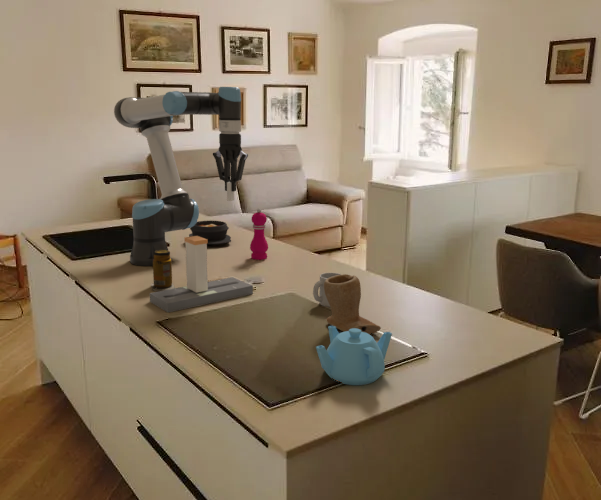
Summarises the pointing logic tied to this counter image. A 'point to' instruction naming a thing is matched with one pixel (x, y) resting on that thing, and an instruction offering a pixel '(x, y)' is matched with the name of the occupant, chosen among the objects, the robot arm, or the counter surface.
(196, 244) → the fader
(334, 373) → the teapot
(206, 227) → the casserole
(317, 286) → the cup
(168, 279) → the condiment
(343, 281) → the brown boot
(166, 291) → the console
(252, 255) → the pepper mill
